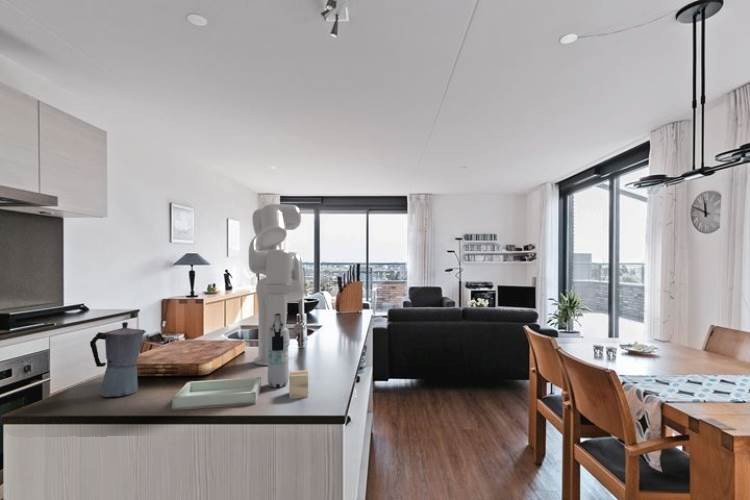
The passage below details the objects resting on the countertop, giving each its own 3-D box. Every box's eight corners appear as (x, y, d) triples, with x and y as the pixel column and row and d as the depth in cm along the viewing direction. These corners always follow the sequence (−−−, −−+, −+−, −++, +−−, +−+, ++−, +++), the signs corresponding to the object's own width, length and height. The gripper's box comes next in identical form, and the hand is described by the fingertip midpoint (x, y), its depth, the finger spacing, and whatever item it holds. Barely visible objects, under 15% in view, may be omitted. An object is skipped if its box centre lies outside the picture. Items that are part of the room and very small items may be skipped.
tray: (187, 392, 109) (188, 381, 109) (260, 387, 113) (260, 377, 113) (172, 410, 95) (172, 398, 96) (255, 404, 99) (255, 392, 99)
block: (289, 392, 108) (289, 371, 109) (307, 391, 109) (307, 370, 110) (289, 398, 103) (289, 376, 104) (308, 397, 104) (307, 375, 105)
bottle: (283, 389, 111) (284, 320, 112) (262, 388, 112) (262, 319, 113) (293, 382, 118) (293, 317, 118) (273, 381, 119) (273, 316, 120)
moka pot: (155, 387, 114) (156, 319, 115) (103, 405, 100) (105, 327, 100) (131, 384, 117) (132, 318, 118) (78, 401, 103) (80, 326, 103)
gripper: (268, 289, 124) (267, 343, 123) (263, 291, 107) (263, 353, 106) (291, 289, 125) (291, 341, 124) (290, 290, 108) (290, 352, 107)
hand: (278, 347), depth 115 cm, fingers open, 9 cm apart
